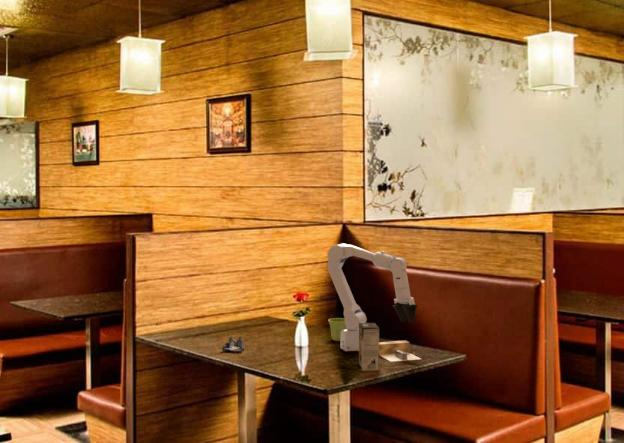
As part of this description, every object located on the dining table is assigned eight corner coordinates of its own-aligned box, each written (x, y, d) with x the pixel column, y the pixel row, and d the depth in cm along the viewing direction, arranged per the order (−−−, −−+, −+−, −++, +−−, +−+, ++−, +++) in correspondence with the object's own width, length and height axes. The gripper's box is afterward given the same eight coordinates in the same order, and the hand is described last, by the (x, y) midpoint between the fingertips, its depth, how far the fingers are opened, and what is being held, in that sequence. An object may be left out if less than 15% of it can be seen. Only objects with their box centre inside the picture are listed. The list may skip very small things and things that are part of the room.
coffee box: (358, 364, 305) (358, 322, 304) (375, 364, 305) (375, 322, 304) (361, 370, 296) (362, 327, 295) (379, 370, 296) (379, 327, 295)
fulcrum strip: (402, 359, 310) (402, 353, 310) (394, 355, 316) (394, 350, 316) (407, 359, 310) (407, 353, 310) (399, 355, 317) (399, 349, 317)
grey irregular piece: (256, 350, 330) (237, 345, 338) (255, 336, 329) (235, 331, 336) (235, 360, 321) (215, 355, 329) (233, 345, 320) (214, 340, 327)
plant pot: (324, 340, 347) (324, 320, 347) (332, 336, 356) (332, 317, 355) (345, 342, 344) (345, 322, 343) (352, 338, 352) (352, 318, 352)
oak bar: (377, 354, 318) (377, 344, 317) (373, 352, 321) (373, 342, 321) (409, 352, 322) (409, 342, 322) (405, 350, 326) (405, 340, 326)
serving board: (390, 363, 307) (390, 361, 307) (374, 354, 322) (374, 352, 322) (421, 361, 311) (421, 359, 311) (403, 352, 326) (404, 350, 326)
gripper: (419, 286, 314) (424, 321, 314) (403, 286, 327) (408, 319, 327) (402, 289, 311) (408, 324, 311) (387, 289, 325) (392, 322, 325)
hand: (407, 322), depth 319 cm, fingers open, 7 cm apart
